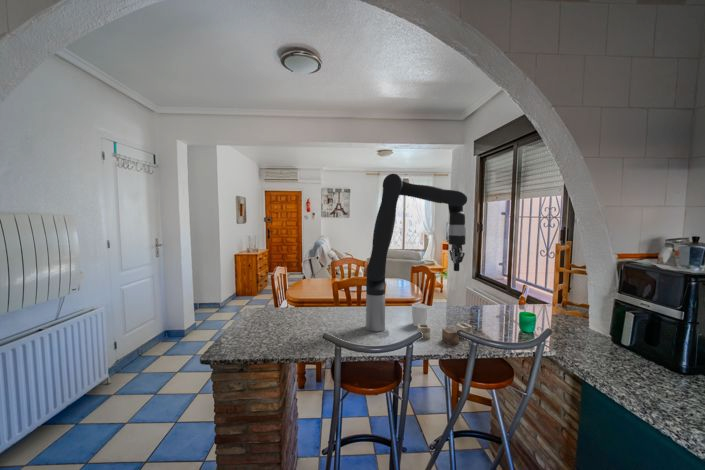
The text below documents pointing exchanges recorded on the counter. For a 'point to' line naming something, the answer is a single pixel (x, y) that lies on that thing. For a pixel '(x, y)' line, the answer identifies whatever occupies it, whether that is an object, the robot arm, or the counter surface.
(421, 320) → the white cup
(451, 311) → the counter surface
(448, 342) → the walnut cube
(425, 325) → the beech cube left
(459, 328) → the beech cube right
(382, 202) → the robot arm
